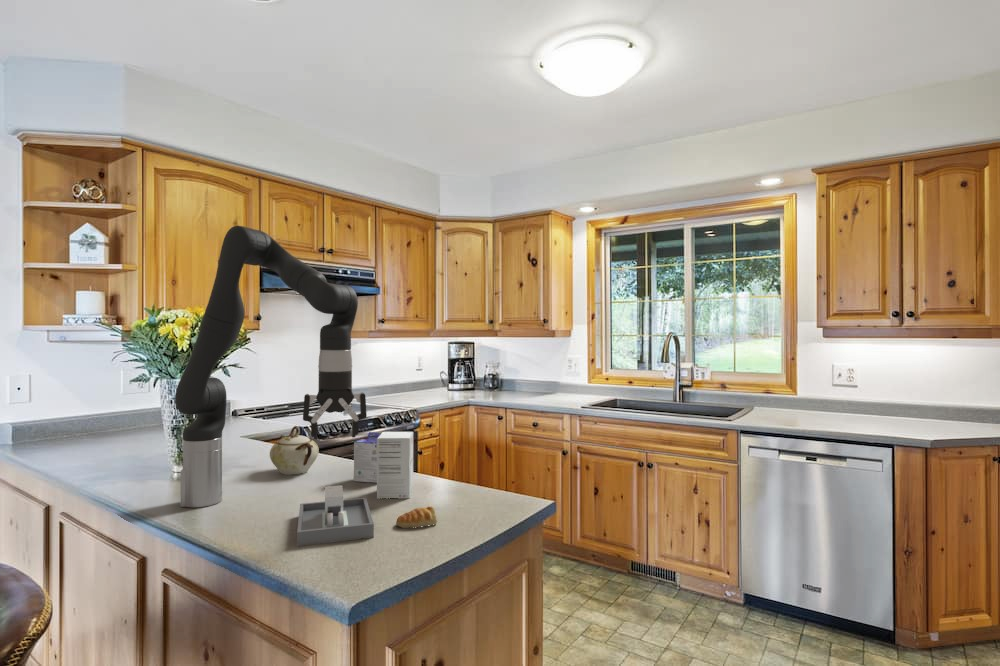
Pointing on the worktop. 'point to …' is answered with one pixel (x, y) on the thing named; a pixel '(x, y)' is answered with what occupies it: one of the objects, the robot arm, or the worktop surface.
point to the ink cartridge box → (366, 459)
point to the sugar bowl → (294, 453)
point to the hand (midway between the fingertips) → (335, 437)
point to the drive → (333, 502)
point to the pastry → (417, 518)
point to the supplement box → (394, 465)
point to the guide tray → (350, 523)
